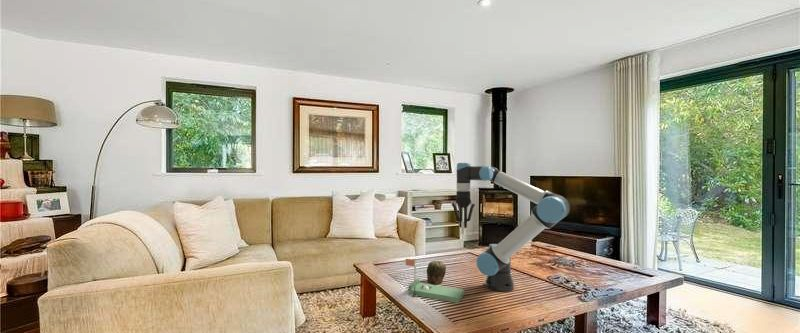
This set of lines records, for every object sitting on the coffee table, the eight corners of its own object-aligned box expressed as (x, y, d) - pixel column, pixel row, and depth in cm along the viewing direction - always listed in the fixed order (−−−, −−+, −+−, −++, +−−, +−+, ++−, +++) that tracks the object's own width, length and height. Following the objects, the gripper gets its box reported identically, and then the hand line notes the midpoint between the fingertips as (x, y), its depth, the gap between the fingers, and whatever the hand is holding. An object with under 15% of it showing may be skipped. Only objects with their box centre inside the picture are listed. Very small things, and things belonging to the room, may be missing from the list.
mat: (464, 294, 171) (464, 285, 171) (458, 302, 160) (458, 293, 160) (417, 286, 182) (417, 278, 182) (408, 294, 171) (408, 285, 171)
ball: (429, 284, 174) (423, 284, 175) (427, 286, 171) (421, 286, 172) (430, 291, 174) (424, 291, 175) (428, 294, 170) (421, 293, 172)
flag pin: (417, 295, 168) (418, 259, 169) (416, 297, 166) (416, 260, 166) (406, 293, 171) (406, 257, 171) (404, 295, 169) (404, 259, 169)
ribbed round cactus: (445, 286, 183) (445, 264, 183) (425, 284, 186) (425, 263, 186) (446, 279, 194) (446, 259, 194) (427, 278, 196) (427, 258, 196)
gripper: (476, 190, 183) (476, 233, 182) (453, 190, 188) (453, 231, 188) (473, 191, 176) (473, 235, 176) (450, 190, 181) (449, 233, 181)
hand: (463, 233), depth 182 cm, fingers closed
